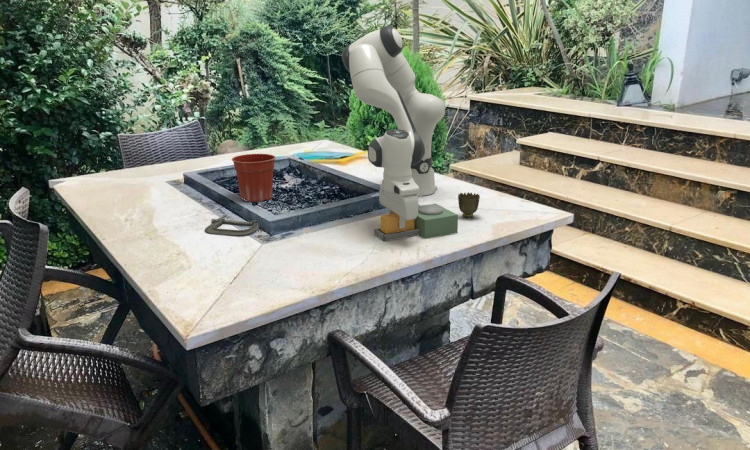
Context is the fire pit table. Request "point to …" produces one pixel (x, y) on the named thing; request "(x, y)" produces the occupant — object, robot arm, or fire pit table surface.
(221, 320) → the fire pit table surface
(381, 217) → the orange rectangular block
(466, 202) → the cup
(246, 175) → the flower pot
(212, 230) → the c clamp
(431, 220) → the box with open drawer
